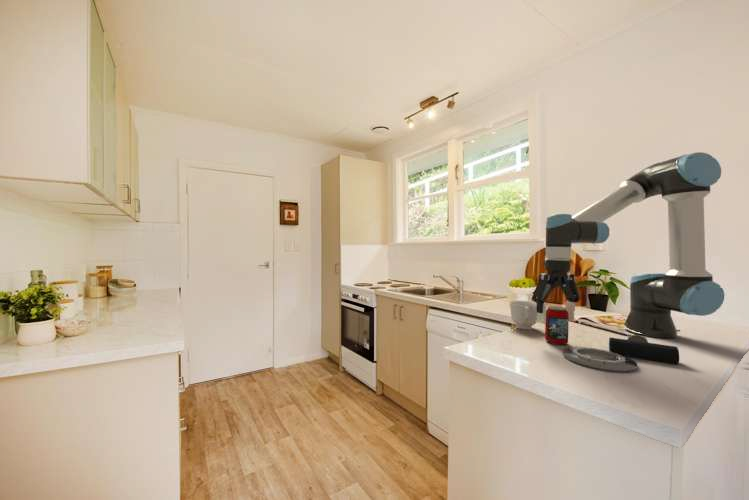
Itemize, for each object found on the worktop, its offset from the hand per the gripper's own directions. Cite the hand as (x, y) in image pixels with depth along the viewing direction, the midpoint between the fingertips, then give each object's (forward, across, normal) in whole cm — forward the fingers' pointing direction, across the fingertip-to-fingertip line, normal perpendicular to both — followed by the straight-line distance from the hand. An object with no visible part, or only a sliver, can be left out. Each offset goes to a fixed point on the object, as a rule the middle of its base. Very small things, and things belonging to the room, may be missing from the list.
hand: (555, 321), depth 103 cm
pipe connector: (+7, -14, +17) cm, 23 cm away
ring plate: (+7, +4, +16) cm, 18 cm away
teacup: (+7, -5, -18) cm, 20 cm away
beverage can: (+7, 0, 0) cm, 7 cm away
